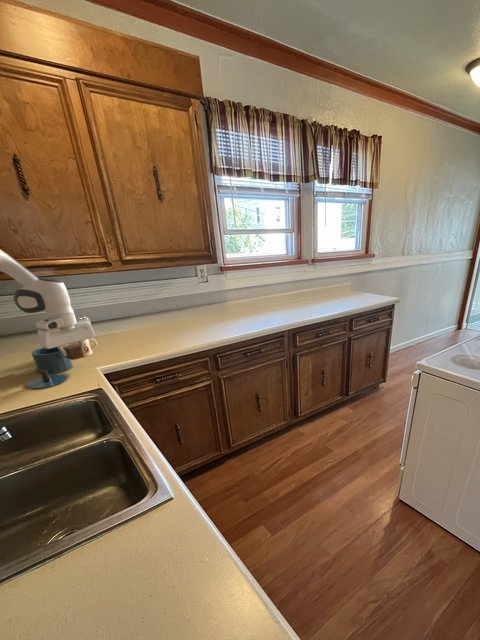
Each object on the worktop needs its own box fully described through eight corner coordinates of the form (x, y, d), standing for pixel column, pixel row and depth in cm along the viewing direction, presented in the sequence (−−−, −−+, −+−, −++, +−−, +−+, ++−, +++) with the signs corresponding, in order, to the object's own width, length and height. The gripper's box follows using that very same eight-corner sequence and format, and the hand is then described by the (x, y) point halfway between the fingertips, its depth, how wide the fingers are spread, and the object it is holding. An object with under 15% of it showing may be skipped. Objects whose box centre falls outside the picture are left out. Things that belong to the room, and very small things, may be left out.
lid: (39, 393, 125) (34, 379, 123) (20, 386, 131) (14, 373, 128) (75, 380, 136) (70, 367, 133) (56, 374, 141) (51, 362, 139)
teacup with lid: (72, 358, 160) (64, 335, 154) (72, 353, 166) (64, 331, 161) (100, 354, 166) (93, 331, 160) (98, 349, 172) (92, 328, 167)
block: (72, 360, 135) (69, 348, 133) (65, 358, 137) (62, 347, 135) (84, 356, 139) (80, 345, 137) (77, 354, 141) (73, 344, 139)
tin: (53, 378, 137) (45, 357, 133) (30, 371, 145) (21, 351, 140) (82, 369, 147) (76, 349, 143) (59, 362, 155) (52, 343, 150)
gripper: (83, 314, 140) (92, 345, 146) (30, 324, 124) (43, 359, 130) (92, 316, 138) (101, 347, 144) (40, 326, 121) (52, 361, 128)
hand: (73, 353), depth 137 cm, fingers closed on block, 5 cm apart
